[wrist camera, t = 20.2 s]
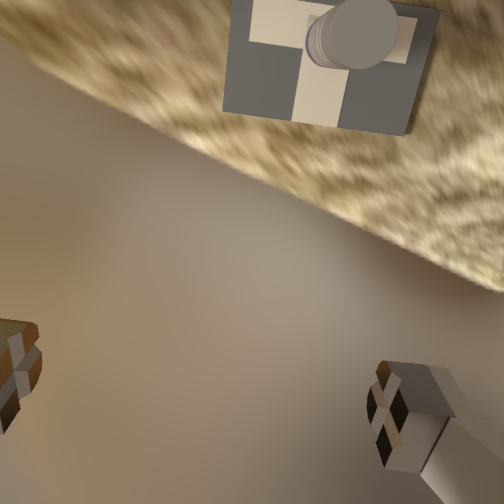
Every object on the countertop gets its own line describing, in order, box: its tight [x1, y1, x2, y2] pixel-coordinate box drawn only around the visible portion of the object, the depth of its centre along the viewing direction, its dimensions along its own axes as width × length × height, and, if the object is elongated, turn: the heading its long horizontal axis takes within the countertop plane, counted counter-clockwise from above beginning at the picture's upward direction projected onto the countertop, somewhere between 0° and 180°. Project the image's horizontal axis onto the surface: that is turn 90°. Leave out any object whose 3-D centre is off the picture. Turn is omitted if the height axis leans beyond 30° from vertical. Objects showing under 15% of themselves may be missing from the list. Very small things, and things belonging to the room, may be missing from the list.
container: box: [305, 0, 399, 70], centre depth 33 cm, size 5×5×15 cm
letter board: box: [223, 0, 441, 137], centre depth 41 cm, size 20×12×1 cm, turn 83°
